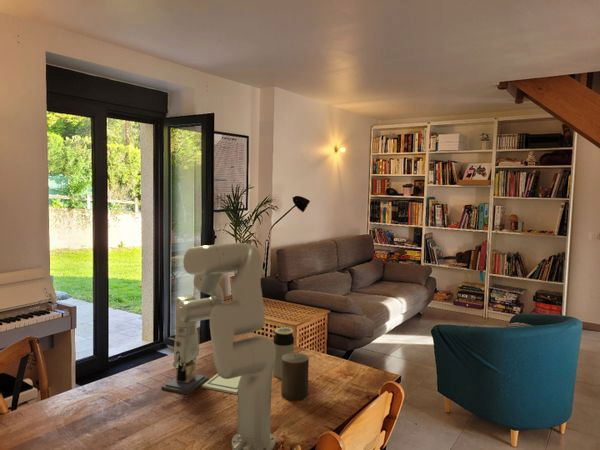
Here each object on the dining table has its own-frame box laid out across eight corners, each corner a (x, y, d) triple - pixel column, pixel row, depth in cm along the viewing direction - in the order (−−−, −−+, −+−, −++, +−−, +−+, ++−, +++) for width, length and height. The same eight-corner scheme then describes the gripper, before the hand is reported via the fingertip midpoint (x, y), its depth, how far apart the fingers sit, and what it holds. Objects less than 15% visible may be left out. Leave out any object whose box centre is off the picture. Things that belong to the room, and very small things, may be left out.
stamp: (188, 383, 168) (187, 361, 167) (176, 381, 170) (176, 359, 169) (195, 377, 173) (195, 357, 172) (184, 375, 174) (183, 355, 174)
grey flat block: (187, 394, 163) (187, 390, 163) (161, 389, 167) (161, 385, 167) (208, 379, 176) (208, 375, 176) (183, 374, 180) (183, 370, 180)
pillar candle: (305, 402, 160) (306, 360, 159) (277, 398, 162) (278, 357, 160) (310, 390, 169) (311, 350, 168) (284, 387, 171) (285, 347, 170)
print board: (236, 394, 164) (236, 391, 164) (202, 387, 169) (202, 384, 169) (255, 376, 180) (255, 374, 179) (223, 370, 184) (223, 368, 184)
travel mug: (297, 375, 182) (298, 330, 180) (281, 380, 177) (282, 335, 175) (283, 368, 188) (285, 325, 186) (268, 374, 182) (269, 329, 181)
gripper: (181, 337, 160) (181, 388, 162) (207, 324, 176) (207, 370, 178) (163, 335, 163) (163, 385, 164) (190, 321, 179) (190, 367, 180)
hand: (186, 377), depth 171 cm, fingers closed on stamp, 5 cm apart
